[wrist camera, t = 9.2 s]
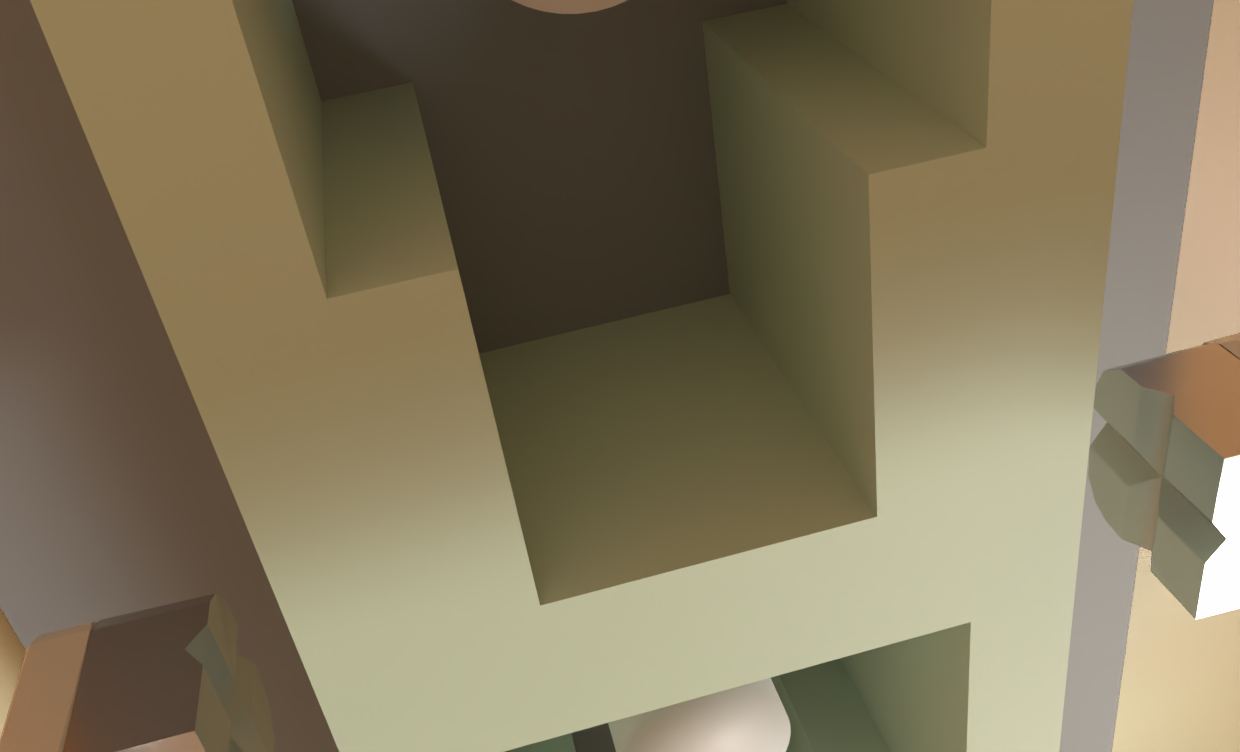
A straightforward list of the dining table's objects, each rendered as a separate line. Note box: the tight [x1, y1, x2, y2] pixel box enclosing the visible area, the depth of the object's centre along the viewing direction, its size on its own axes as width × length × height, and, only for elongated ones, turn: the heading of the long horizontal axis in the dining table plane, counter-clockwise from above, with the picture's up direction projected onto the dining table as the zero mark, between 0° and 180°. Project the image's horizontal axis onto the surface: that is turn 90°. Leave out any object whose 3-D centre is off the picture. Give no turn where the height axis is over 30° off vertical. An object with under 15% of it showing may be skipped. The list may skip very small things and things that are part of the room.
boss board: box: [0, 0, 1214, 752], centre depth 11 cm, size 14×26×4 cm, turn 8°
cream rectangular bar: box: [30, 0, 1134, 752], centre depth 11 cm, size 18×6×4 cm, turn 8°
